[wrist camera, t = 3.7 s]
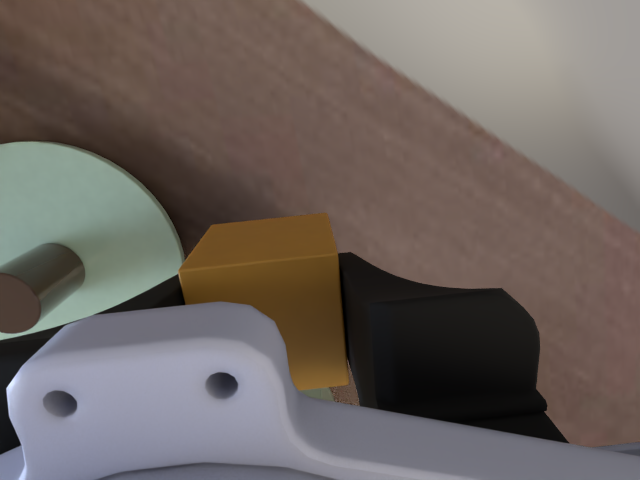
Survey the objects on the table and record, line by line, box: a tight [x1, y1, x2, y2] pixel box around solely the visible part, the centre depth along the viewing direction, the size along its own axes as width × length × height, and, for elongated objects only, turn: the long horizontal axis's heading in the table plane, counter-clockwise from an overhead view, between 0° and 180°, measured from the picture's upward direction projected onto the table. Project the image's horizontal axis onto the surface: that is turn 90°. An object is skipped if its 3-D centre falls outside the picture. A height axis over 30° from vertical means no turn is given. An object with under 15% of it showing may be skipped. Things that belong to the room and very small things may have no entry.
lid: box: [0, 141, 185, 340], centre depth 17 cm, size 11×11×4 cm
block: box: [178, 213, 349, 391], centre depth 12 cm, size 4×4×4 cm
